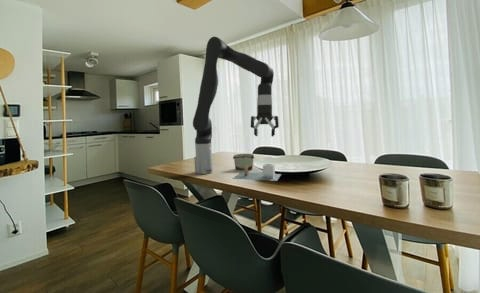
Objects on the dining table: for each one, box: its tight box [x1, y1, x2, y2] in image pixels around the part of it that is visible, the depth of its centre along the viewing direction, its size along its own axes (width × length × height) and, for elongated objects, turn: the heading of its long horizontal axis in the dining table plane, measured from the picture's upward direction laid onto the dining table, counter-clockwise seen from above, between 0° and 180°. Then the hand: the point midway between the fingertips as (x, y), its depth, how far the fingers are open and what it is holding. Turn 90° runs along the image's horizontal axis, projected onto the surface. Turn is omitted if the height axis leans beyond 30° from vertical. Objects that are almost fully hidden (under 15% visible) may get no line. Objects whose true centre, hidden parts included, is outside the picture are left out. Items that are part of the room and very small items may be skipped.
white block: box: [262, 163, 276, 178], centre depth 118 cm, size 5×5×6 cm
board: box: [232, 166, 282, 182], centre depth 120 cm, size 22×14×6 cm, turn 72°
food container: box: [232, 153, 255, 171], centre depth 139 cm, size 12×6×10 cm, turn 84°
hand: (264, 136), depth 122 cm, fingers open, 8 cm apart
